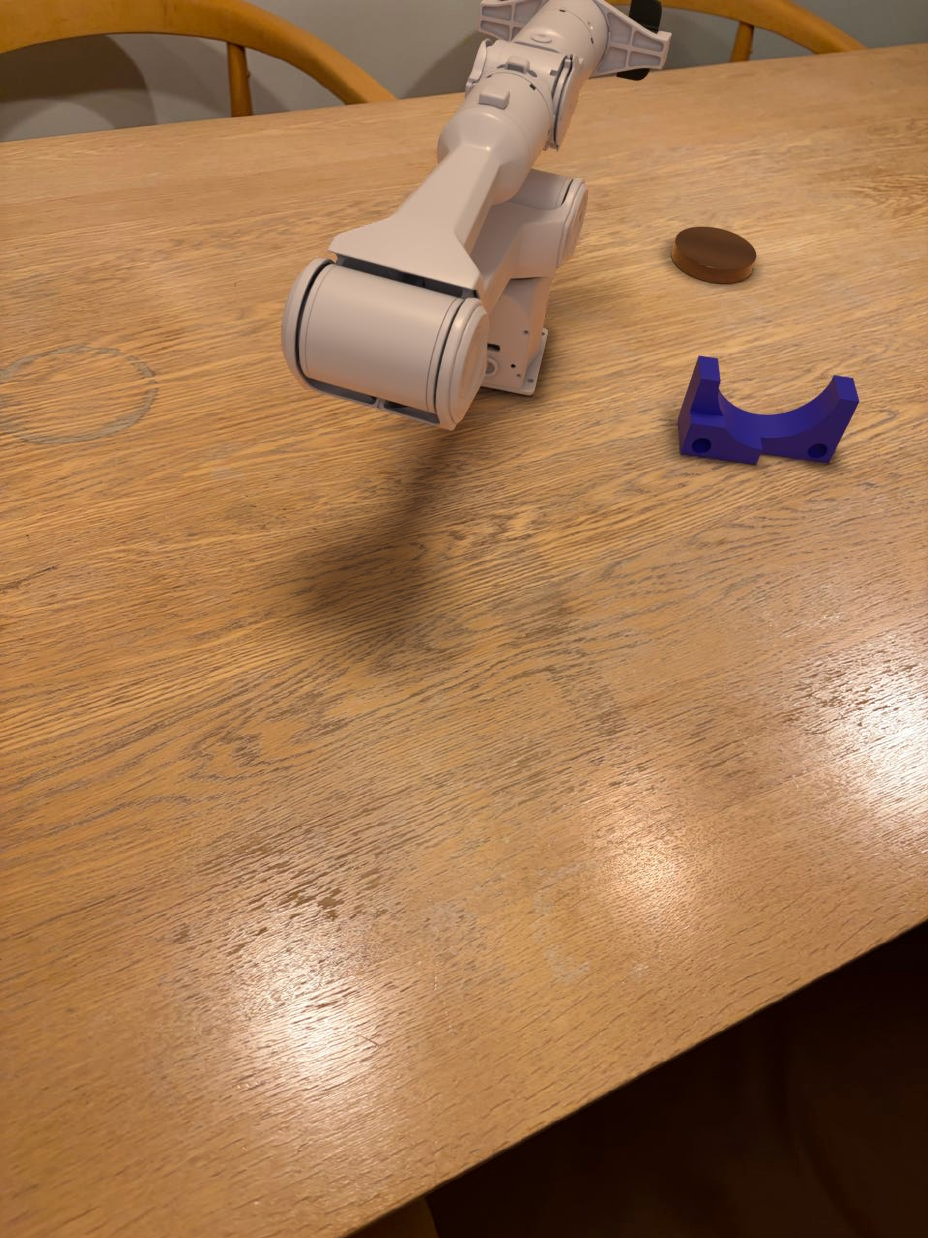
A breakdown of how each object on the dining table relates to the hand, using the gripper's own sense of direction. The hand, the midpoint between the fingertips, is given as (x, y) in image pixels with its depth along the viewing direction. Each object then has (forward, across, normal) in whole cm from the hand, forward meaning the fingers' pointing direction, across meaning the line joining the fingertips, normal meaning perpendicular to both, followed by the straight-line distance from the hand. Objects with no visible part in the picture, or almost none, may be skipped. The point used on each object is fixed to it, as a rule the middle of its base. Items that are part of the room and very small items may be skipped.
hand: (596, 2), depth 80 cm
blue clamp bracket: (-22, -22, +22) cm, 39 cm away
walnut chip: (+5, -15, +21) cm, 26 cm away
